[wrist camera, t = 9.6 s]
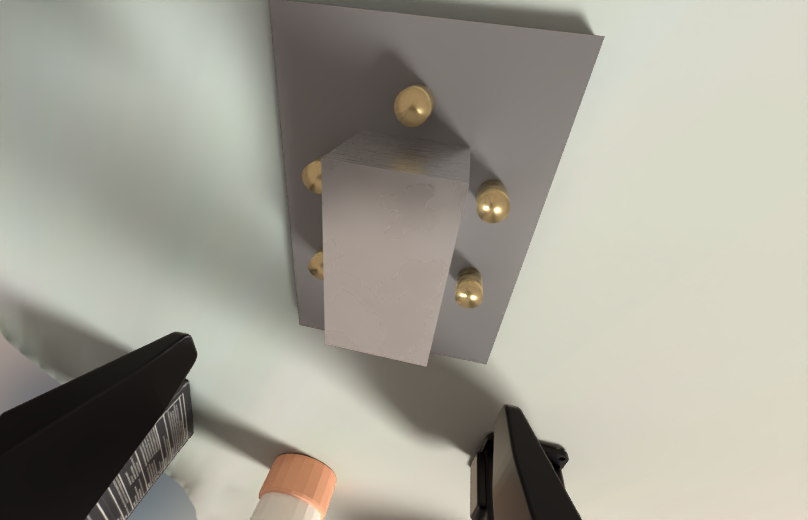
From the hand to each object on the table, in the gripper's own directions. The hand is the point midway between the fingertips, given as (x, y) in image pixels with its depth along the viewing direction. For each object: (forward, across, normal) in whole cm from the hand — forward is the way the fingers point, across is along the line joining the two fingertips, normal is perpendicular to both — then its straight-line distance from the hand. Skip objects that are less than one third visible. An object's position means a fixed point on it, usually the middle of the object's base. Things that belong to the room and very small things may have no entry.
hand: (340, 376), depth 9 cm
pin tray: (+11, 0, 0) cm, 11 cm away
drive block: (+10, 0, 0) cm, 10 cm away
